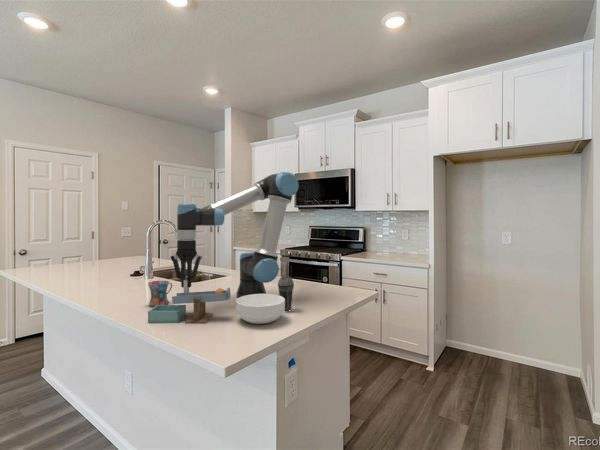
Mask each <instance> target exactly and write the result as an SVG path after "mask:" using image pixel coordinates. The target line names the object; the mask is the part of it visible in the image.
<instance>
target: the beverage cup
mask: <svg viewBox="0 0 600 450" xmlns="http://www.w3.org/2000/svg"><path fill="white" fill-rule="evenodd" d="M283 267H284V275H282V276H281V277H280V278H279V279H278V281H277V282H278V283H277V288H278V295H279V296H282V297H283V298H285V311H289V310H292V305H293V304H292V303H293V294H294V293H293V292H294V286H295V284H294V280H293V278H292V277H291V276H289V275H287V273H286V266H285V265H284V266H283ZM289 312H290V311H289Z"/></svg>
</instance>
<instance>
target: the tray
mask: <svg viewBox="0 0 600 450" xmlns="http://www.w3.org/2000/svg"><path fill="white" fill-rule="evenodd" d="M186 316H187V305H186V304H166V305H156V306H152V307H151V309H149V310H148V311H147V323H149V324H151V323H152V324H157V323H159V324H160V323H161V324H163V323H164V324H165V323H170V324H171V323H176V324H177V323H180V322H182V320H183V319H185V317H186Z"/></svg>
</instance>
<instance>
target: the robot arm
mask: <svg viewBox="0 0 600 450" xmlns="http://www.w3.org/2000/svg"><path fill="white" fill-rule="evenodd" d="M298 190H299V181H298V179H297V176H296V175H294V174H293V173H291V172H289V171H282V172H279V173H274V174H270V175H268V176H266V177H264V178H262V179H261V180H259V181H257V182H255V183H253V185H252V186H250V187H248V188H245V189H243V190H241V191H239V192H236V193H234V194H231V195H230V196H227V197H226V198H222V199H220V200H218V201H216V202H214V203H211V204H209V205H207V206H204V207H201V208H198V207H197V204H196V203H190V202H189V203H188V202H187V203H186V202H183V203H181V202H180V203H178V205H177V213H176V215H177V216H176V217H177V218H176V219H177V221H176V224H177V225H176V226H177V227H176V229H177V230H176V231H177V232H176V233H177V234H176V236H177V237H176V239H177V242H176V244H177V245H176V252H175V254H174V255H171V256H170V259H171V261H172V263H173V268H174V271H175V275H176V276H175V277H176V278H177V279H178V280H181V283H180V288H183V293H187V292H190V288H191V287H192V280H193V279H195V278H196V277H197V274H198V270H199V266H200V263H201V262H200V261H201V260H202V259H203V256H202V255H199V254H198V252H197V240H196V239H197V238H196V237H197V227H199V226H201V227H202V226H205V227H206V226H207V227H208V226H209V227H210V226H211V227H212V226H213V227H214V226H215V227H216V226H223V224H225V216H227V215H229V214H231V213H233V212H236V211H237V210H240V209H242V208H243V207H247V206H248V205H251V204H253V203H255V202H257V201H259V200H260V201H264V200H266V199H268V200H269V204H268V208H267V212H266V216H265V220H264V223H263V224H264V225H263V228H262V233H261V236H260V240H259V241H260V242H259V245H258V248H257V249H256V250H254V251H253V252H244V253H243V252H242V253H241V254H240V255H239V284H238V288H237V291H236V299H238V298H240V297H242V296H246V295H252V294H267V291H266V288H265V284H267V283H270V282H272V281H273V280H274V281H275V279H276V278H277V276H278V275H279V272H280V267H279V264H278V259H279V255H278V254H277V248H278V244H279V240H280V236H281V231H282V228H283V223H284V219H285V214H286V210H287V206H288V205H289V204H290V203H291V202H292V199H293V196H294V195H295V194H297V192H298ZM178 259H179V260H180V263H179V260H178ZM194 259H195V262H194V265H193V261H194ZM186 265H187V266H186ZM186 272H187V273H186ZM264 283H265V284H264Z"/></svg>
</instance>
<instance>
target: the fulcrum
mask: <svg viewBox="0 0 600 450" xmlns="http://www.w3.org/2000/svg"><path fill="white" fill-rule="evenodd" d="M206 309H207V308H206V302H200V298H194V303H193V313H192V314H191V315H190V316H189V317H188V318H187V319H186V320H185V324H207V323H208V321H210V319H211V317H213V315H214V312H207V311H206Z"/></svg>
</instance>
